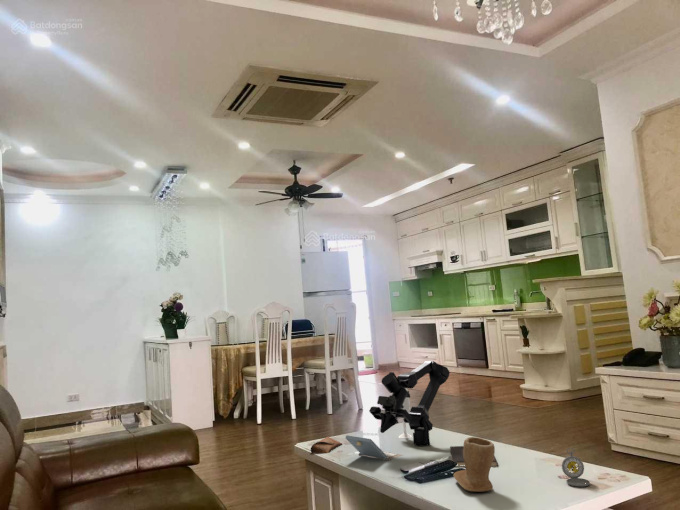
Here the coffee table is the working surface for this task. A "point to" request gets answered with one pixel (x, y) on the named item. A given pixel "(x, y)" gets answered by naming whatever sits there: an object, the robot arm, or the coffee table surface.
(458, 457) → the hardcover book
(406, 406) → the champagne flute
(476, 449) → the tan boot
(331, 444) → the sunglasses case
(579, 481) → the pocket watch
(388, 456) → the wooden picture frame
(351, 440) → the door
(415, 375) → the robot arm
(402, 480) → the coffee table surface
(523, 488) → the coffee table surface
